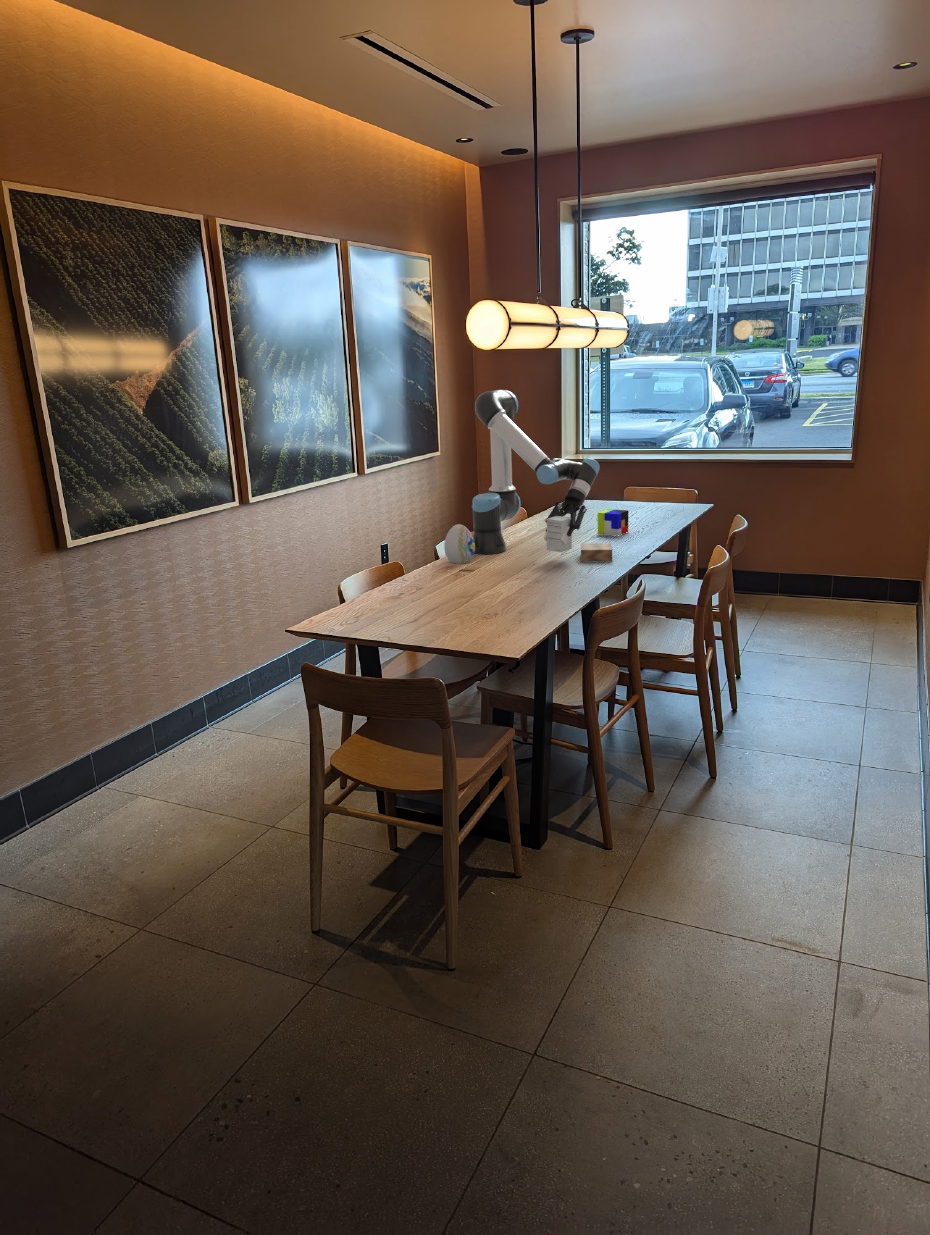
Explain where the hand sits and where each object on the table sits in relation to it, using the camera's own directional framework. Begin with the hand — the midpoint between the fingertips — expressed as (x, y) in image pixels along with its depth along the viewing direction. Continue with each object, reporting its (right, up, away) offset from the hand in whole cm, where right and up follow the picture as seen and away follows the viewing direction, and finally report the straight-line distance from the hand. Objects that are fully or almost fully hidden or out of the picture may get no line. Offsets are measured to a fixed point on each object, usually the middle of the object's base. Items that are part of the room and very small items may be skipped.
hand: (554, 540), depth 325 cm
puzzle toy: (+32, +8, +51) cm, 60 cm away
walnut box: (+17, -7, +6) cm, 20 cm away
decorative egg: (-37, -7, +12) cm, 39 cm away
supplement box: (+2, -3, +4) cm, 6 cm away
